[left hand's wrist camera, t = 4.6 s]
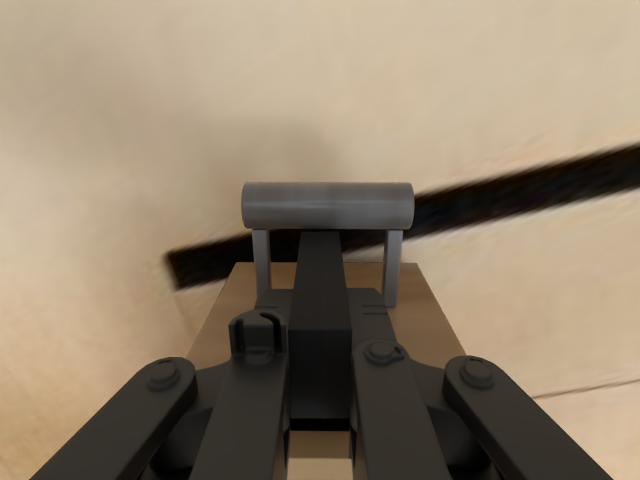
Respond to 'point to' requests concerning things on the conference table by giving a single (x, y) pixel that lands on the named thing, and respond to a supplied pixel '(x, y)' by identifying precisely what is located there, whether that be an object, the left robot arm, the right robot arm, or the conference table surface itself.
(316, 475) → the cabinet
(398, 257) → the drawer
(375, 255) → the conference table surface
